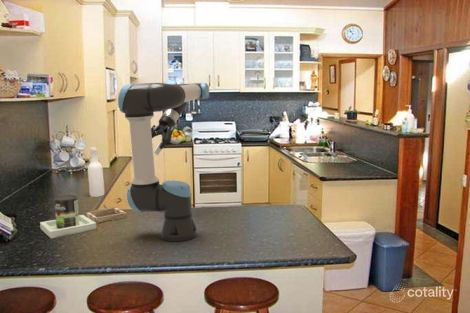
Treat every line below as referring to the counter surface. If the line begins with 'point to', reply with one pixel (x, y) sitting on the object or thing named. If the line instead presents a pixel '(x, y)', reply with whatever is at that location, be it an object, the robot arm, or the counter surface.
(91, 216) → the collar
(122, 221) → the counter surface
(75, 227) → the tray
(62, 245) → the counter surface
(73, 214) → the coffee can
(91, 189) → the alcohol
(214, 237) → the counter surface
